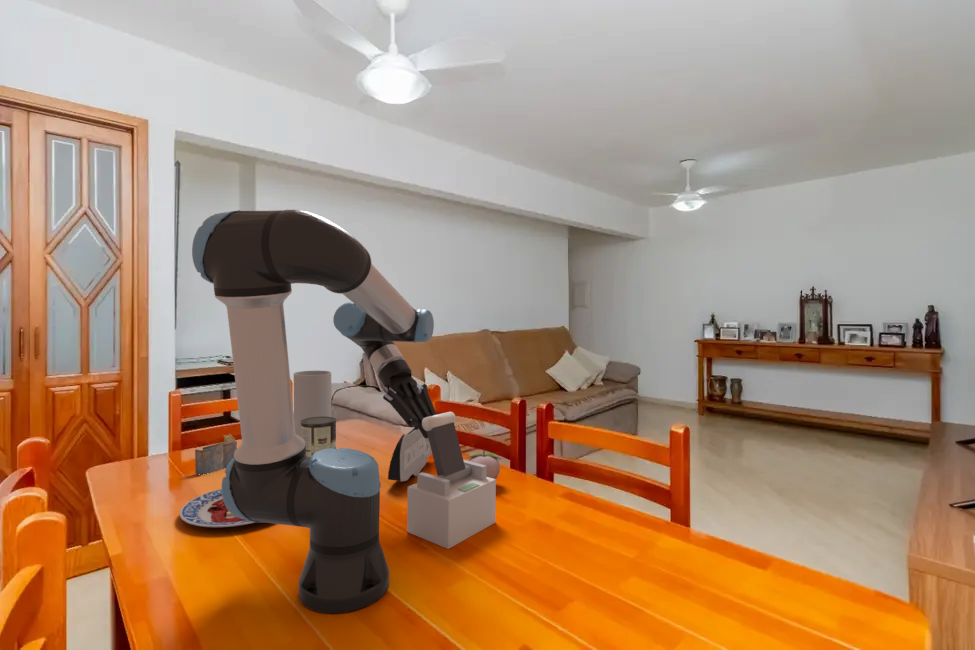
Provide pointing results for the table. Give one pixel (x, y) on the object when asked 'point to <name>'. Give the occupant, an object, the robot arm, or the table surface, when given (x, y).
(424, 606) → the table surface
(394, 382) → the robot arm
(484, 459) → the decorative fruit
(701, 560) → the table surface
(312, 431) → the coffee can
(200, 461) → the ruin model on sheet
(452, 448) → the lever
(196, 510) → the ceramic plate
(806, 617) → the table surface
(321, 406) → the cylinder vase
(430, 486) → the box
